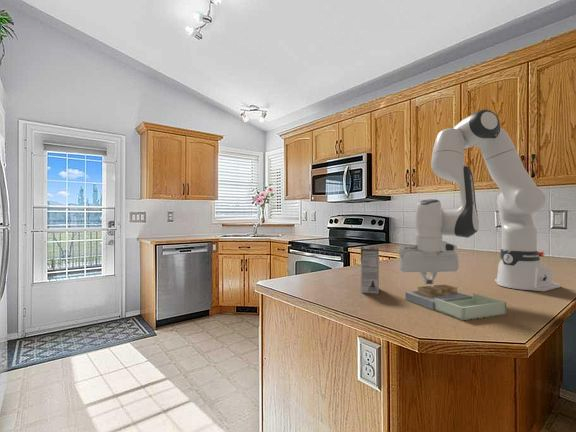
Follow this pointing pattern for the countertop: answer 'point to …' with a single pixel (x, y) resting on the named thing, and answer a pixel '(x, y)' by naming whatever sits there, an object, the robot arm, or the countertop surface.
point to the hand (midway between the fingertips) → (428, 284)
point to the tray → (471, 307)
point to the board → (429, 301)
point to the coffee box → (369, 270)
